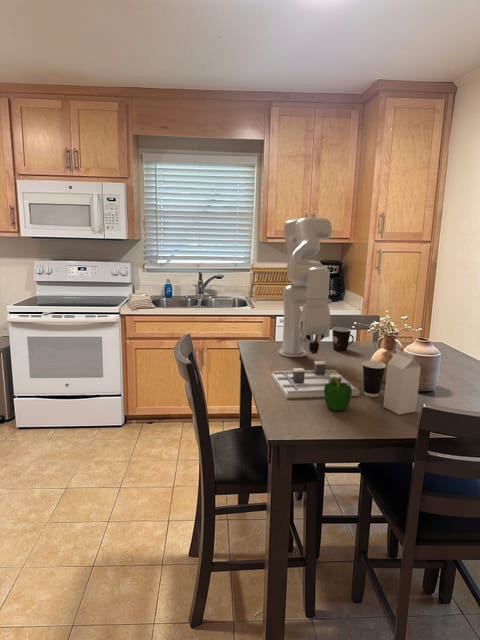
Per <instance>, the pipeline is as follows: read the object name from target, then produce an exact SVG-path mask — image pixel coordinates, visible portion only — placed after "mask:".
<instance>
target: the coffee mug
mask: <svg viewBox="0 0 480 640" xmlns="http://www.w3.org/2000/svg"><path fill="white" fill-rule="evenodd" d="M331 329H332V349H333V351H336V352H339V353H341V352H347V351H348V346H350V345H351V344H353V342H354V340H355V337H354V336H353V335H352V334H351V331H352V330H351V328H348V327H336V326H335V327H332V328H331ZM350 337H351V338H352V340H351V342H350V341H349V340H350ZM349 342H350V343H349Z"/></svg>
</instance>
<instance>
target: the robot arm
mask: <svg viewBox="0 0 480 640" xmlns="http://www.w3.org/2000/svg"><path fill="white" fill-rule="evenodd" d="M332 233H333V225H332V222H331V221H330V220H329V218H325V217H302V218H300V219H291V220H287V221H286V222H285V223H284V224H283V236H284V237H283V238H284V241H285V245H286V248H287V262H286V264H287V265H286V276H287V279H288V280H289V281H291V283H292V284H289V285H286V286H285V287H284V289H283V290H282V300H283V301H282V302H283V327H282V343H281V344H282V347H281V348H280V349H279V350H278V354H279V355H280V356H284V357H288V358H303V357H305V356H307V351H306V350H305V349H304V339H307V340H308V341H309V348H308V350H309V352H310V353H311V354H312V355H313V354H316V355H317V354H318V352H319V348H320V346H319V345H320V343H321V341H322V340H323V339H324V338H329V337H330V332H331V312H330V306H329V304H332V299H331V298H330V299H329V290H330V289H329V287H330V278H331V277H330V276H331V275H330V273H331V272H330V269H329V268H328V267H327V266H326V265H323V264H322V262H320V261H319V260H308V259H309V258H312V257H314V256H316V255H317V254H318V253H319V251H320V250H321V243H320V241H327V240H329V239H330V238H331V236H332ZM301 307H302V309H301ZM314 335H315V336H314Z"/></svg>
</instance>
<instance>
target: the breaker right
mask: <svg viewBox="0 0 480 640" xmlns="http://www.w3.org/2000/svg"><path fill="white" fill-rule="evenodd" d="M340 375H341V374H340ZM340 375H329V383H330V382H335V383H336V381H335V380H332V377H336V378H337V379H338V380H339V383H341V376H340Z"/></svg>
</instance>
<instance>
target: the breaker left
mask: <svg viewBox="0 0 480 640" xmlns="http://www.w3.org/2000/svg"><path fill="white" fill-rule="evenodd" d="M313 364H314V365H313V370H314V374H315V375H325V370H326V364H327V363H326V362H325V361H324V360H322V361H321V360H318V361H317V360H315V361H314V363H313Z"/></svg>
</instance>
